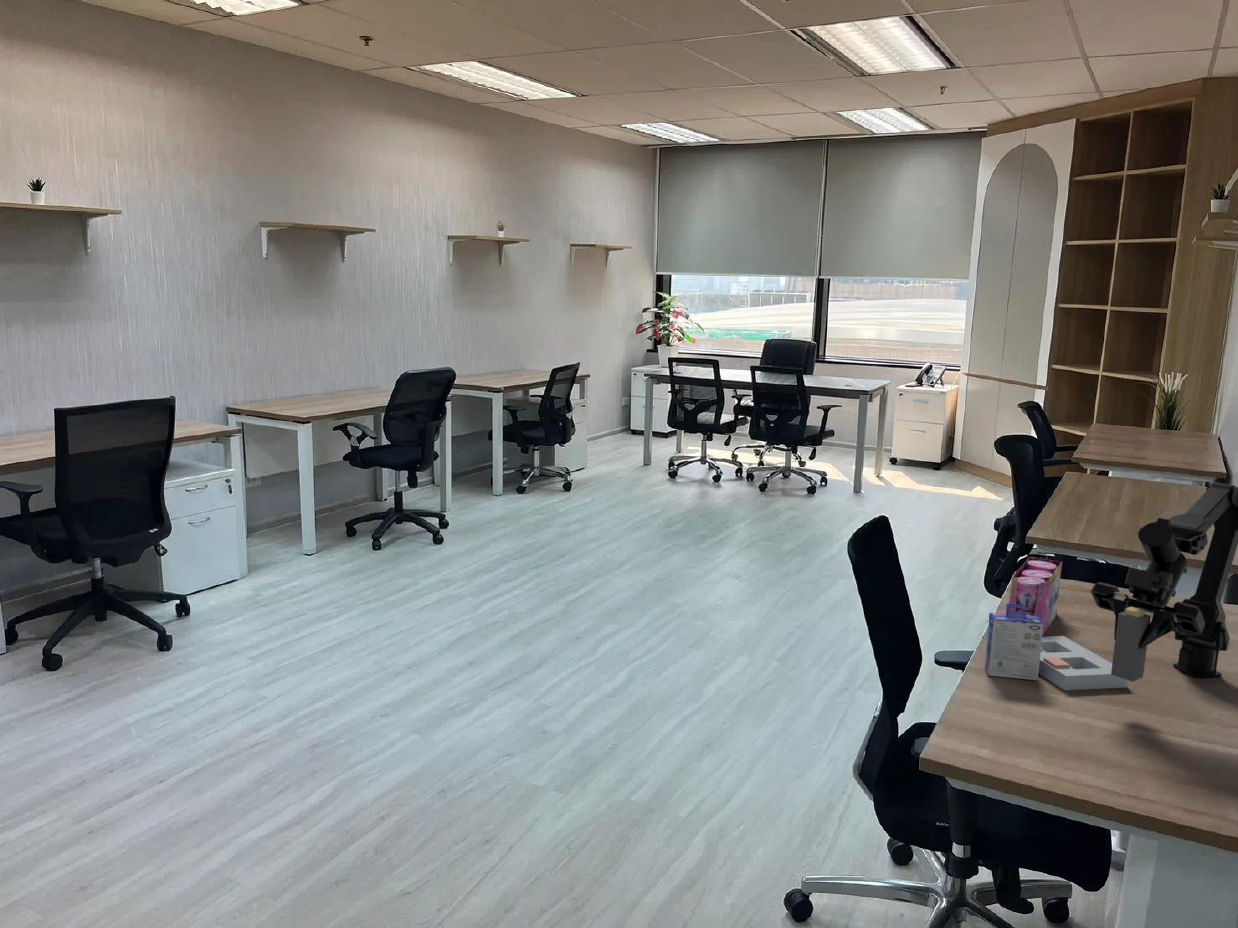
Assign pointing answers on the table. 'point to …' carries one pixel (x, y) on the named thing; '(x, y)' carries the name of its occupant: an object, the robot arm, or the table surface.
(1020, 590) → the gum box
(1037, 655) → the ink cartridge box
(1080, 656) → the socket panel
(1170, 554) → the robot arm
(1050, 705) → the table surface
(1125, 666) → the plug
